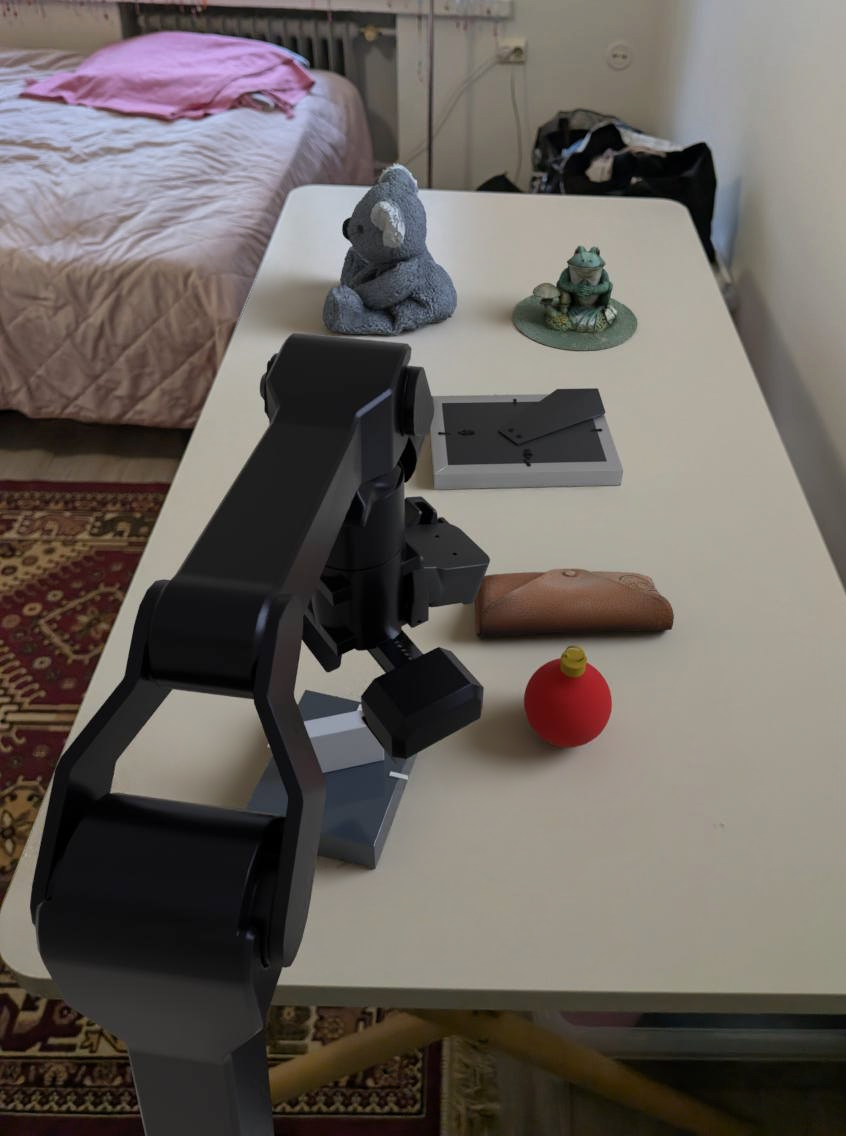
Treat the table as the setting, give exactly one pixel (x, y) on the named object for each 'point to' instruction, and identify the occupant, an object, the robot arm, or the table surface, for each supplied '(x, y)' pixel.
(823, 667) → the table surface
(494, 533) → the table surface
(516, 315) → the frog figurine
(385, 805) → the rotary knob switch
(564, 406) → the picture frame
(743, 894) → the table surface
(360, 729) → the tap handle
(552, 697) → the christmas ornament
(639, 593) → the sunglasses case
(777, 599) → the table surface
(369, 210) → the koala plush
